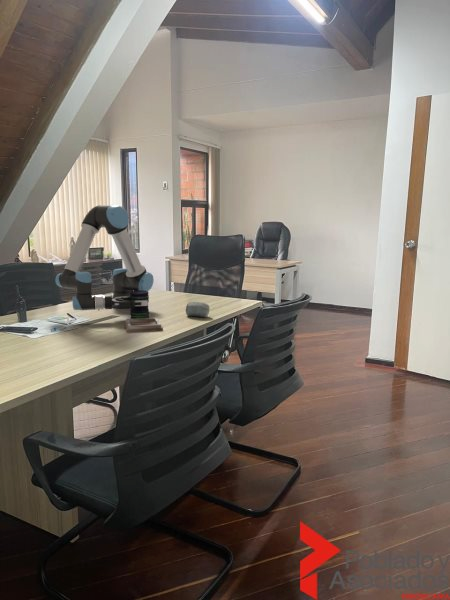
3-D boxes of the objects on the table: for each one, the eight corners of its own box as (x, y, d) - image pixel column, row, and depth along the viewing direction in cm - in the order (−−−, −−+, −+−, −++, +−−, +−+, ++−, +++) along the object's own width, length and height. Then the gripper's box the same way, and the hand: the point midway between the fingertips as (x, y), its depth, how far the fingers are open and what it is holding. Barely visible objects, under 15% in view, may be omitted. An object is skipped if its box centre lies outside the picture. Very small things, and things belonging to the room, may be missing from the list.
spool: (180, 311, 236) (188, 295, 237) (186, 315, 244) (194, 300, 246) (201, 320, 230) (208, 303, 232) (206, 324, 239) (214, 308, 241)
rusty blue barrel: (150, 320, 226) (150, 293, 223) (132, 322, 222) (131, 293, 220) (146, 316, 235) (146, 289, 232) (128, 317, 231) (128, 290, 229)
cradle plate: (124, 323, 218) (124, 318, 218) (157, 322, 223) (157, 317, 223) (127, 332, 202) (126, 326, 202) (162, 330, 207) (162, 325, 207)
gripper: (103, 304, 234) (143, 303, 240) (105, 314, 211) (149, 312, 217) (103, 291, 232) (143, 290, 238) (104, 299, 209) (149, 297, 216)
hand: (146, 300), depth 228 cm, fingers open, 12 cm apart
